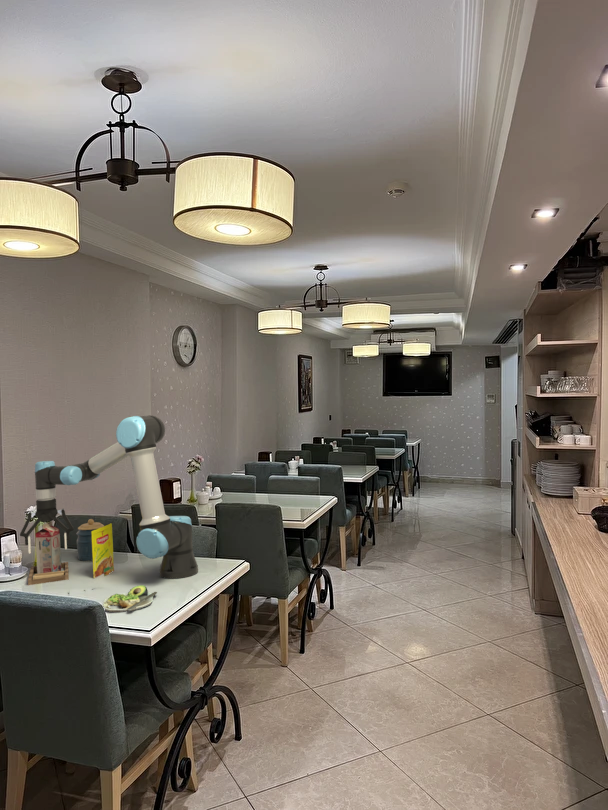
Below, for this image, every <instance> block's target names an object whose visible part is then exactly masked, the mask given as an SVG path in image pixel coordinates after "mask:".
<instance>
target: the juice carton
mask: <svg viewBox="0 0 608 810" xmlns="http://www.w3.org/2000/svg"><path fill="white" fill-rule="evenodd" d="M60 531H61V530H60V528H58V527H56V526H54V525H53V520H52V521H51V522H47V523H46V522H45V523H44V524H42V528H41V529H40V530H38V531H37V532H35V550H36V551H35V553H36V566H37V572H36V574H40V573H48V572H57V571H62V568H61V563H62V556H61V555H62V553H61V536H60V535H61V534H60V533H61V532H60Z"/></svg>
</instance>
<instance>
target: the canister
mask: <svg viewBox="0 0 608 810" xmlns="http://www.w3.org/2000/svg"><path fill="white" fill-rule="evenodd" d="M104 526H105V525H104V524H102V523H101V522H99V521H98V522H97V521H94V519H93V518H90V519H88V521H87V523H83V524H81V525H80V526H78V527H77V530H78V531H77V532H76V534H75V535H76V536H77V539H76V550H77V552H76V553H77V554H76V557H77V559H78V560H79V561H83V562H84V561H85V562H86V561H87V562H88V561H89V562H90V561H93V554H92V532H91V531H93V530H96V529H99V528H101V527H104Z"/></svg>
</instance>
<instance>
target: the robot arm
mask: <svg viewBox="0 0 608 810" xmlns="http://www.w3.org/2000/svg"><path fill="white" fill-rule="evenodd" d="M115 432H116V433H115V436H116V441H117V442H115V443H114V444H111V446H109V447H107V448H105V449H104V450H102V451H101V452H98V453H97V454H96V455H94V456H92V457H90V459H89V458H88V460H86V461H84V462H82V463H76V464H71V465H70V464H68V465H64V466H63V465H61V466H60V465H56V463H55V461H54V460H42V461H41V460H40V461H37V462H36V463H35V465H34V479H35V499H36V501H35V504H36V505H35V506H36V507H35V508H36V510H35V512H34V511H33V512H32V511H29V512H28V513H27V518H26V521H25V523H24V525H23V527H22V529H21V531H20V533H19V536H20V537H24V544H25V546H27V547H28V549H27V550H28V554H31V553H32V549H31V548H32V541H31V535H30V534H31V533H32V532H33V531H34V530H35V528H36V527H37V526H38V525H39V524H40V522H41V523H46V522H47V523H49V522H51V521H52V522H53V521H54V523H56V524H57V526H59V527H60V528H61V529H62V530H63V531H64V535H63V537H64V549H65V550H67V549H68V545H67V544H68V541H70V537H71V536H70V533H71V532H73V531H74V529H75V527H74V526H73V525H72V523H71V521H70V519H69V518H68V515H67V514H66V510H65V508H61V509H59V510H58V509H57V499H56V497H57V491H56V490H57V489H56V488H57V486H58V485H61V486H62V485H64V486H75V485H76V486H77V485H78V484H79V483H80V482H87V481H93V480H94V479H97V478H99V477H100V475H101V474H102V473H103V472H105V471H107V470H109V469H110V468H113V466H116V465H117V464H119V463H120V462H122V461H124V460H125V459H127V458H130V461H131V466H132V471H133V476H134V477H133V478H134V483H135V488H136V492H137V498H138V503H139V508H140V514H141V517H142V518H141V521H140V522H139V524H138V525H139V532H138V534H137V536H136V540H135V541H136V542H135V543H136V547H137V549H138V551H139V552H140V554H141V555H143V556H144V557H145V558H148V559H152V560H153V559H158V558H162V560H161V564H160V568H159V577H161V578H163V577H165V578H164V579H181V578H186V577H191V576H194V575H196V574H198V573H199V565H198V563H197V560H196V558H195V555H194V550H193V549H194V548H193V547H194V546H193V525H192V519H191V518H190V516H187V515H167V514H166V512H165V506H164V500H163V496H162V492H161V486H160V480H159V476H158V471H157V470H158V469H157V465H156V459H155V454H154V453H155V451H156V449H157V444H159V442H161V441H162V440H163V439H164V438H165V434H166V426H165V424H164V422H163V421H162V419H161V418H159V417H157V416H156V415H133V416H130V417H129V416H128V417H125V418H124V419H122V420H121V421H120V422H119V425H117V428H116V431H115ZM56 485H57V486H56ZM58 514H59V515H60V516H62V518H63V521H64V522H65V523H66V524H67V526H68V527H69V528H68V527H67V526H66V525H65V524H64V523H63V522H62V521H61V520H60V519H59V518H58V517H57V516H58ZM34 516H35V517H36V518H37V519H36V520H35V522H34V523H33V524H32V526H31V527H30V528H29V529H28V530H27V528H28V525H29V524H30V522H31V519H32V518H34ZM26 530H27V532H26Z"/></svg>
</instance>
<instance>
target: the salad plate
mask: <svg viewBox="0 0 608 810" xmlns="http://www.w3.org/2000/svg"><path fill="white" fill-rule="evenodd" d="M157 594H158V591H153V592H150V591H149V590H148V587H147V586H146V585H143V584H141V585H137V586H134V587H132V588H131V589H129V590H128V592H126V593H115V594H113V595H109V596H107V597H106V598H105V599H104V600H103V603H102V607H103V606H104V608H105V611H106V612H108V611H109V613H124V612H126V611H127V612H134V611H136V610H140V609H143V608H146V607H148V606H151V604H152V602H153V598H154V597H155V596H156V595H157ZM109 605H110V606H112V605H114V607H121V608H111V607H110V608H109V607H108V606H109ZM122 608H123V609H122Z"/></svg>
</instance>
